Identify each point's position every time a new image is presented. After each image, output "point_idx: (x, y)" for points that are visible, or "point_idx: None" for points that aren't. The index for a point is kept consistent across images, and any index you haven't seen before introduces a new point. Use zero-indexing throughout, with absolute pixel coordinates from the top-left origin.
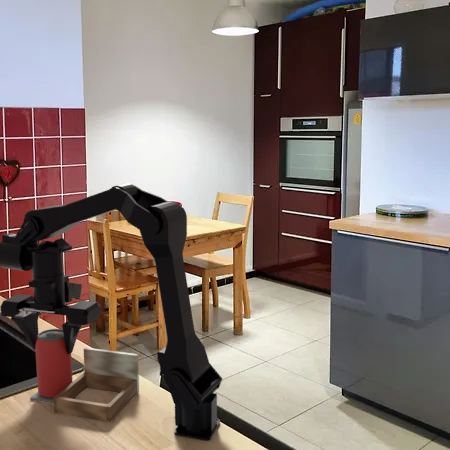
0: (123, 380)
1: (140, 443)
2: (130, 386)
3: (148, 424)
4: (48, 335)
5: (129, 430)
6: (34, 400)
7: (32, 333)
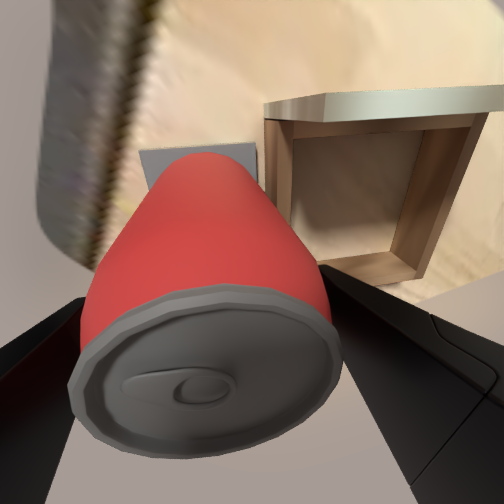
0: (441, 128)
1: (454, 284)
2: (467, 166)
3: (468, 233)
4: (184, 393)
5: (434, 263)
6: None
7: (33, 452)
